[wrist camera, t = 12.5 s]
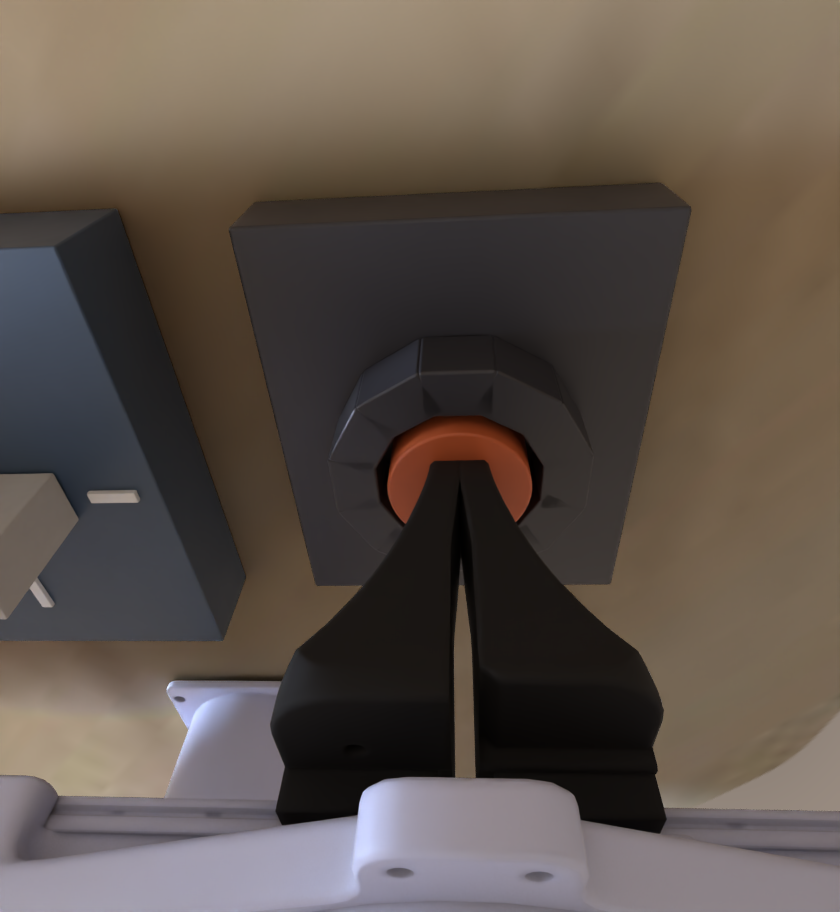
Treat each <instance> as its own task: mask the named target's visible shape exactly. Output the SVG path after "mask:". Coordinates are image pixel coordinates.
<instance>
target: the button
mask: <svg viewBox="0 0 840 912" xmlns="http://www.w3.org/2000/svg"><path fill="white" fill-rule="evenodd" d="M454 460H485V461H486V462H487V463H489V467H490V470H491V473H492V476H493V479H494V481H495V483H496V486H497V488H498V490H499V492H500V494H501V496H502V498H503V500H504V502H505V504H506V506H507V508H508V509H509V511H510V513H511V515H512V516H513V518H514V520H515V522H516V521H517V520H518V519H519V518H520V517H521V516H522V514H523V513H524V512H525V510H526V508H527V506H528V504H529V501H530V498H531V494H532V478H531V473H530V467H529V461H528V455H527V450H526V444H525V438H524V436H523V435H522V434H520V433H518V432H516V431H514V430H512V429H509V428H507V427H505V426H503V425H501V424H499V423H496V422H494V421H492V420H490V419H488V418H486V417H483V416H438V417H433V418H431V419H429V420H427V421H425V422H423V423H421V424H419V425H417V426H415V427H413V428H411V429H409V430H407V431H406V432H404V433H402V434H400V435H398V436H396V437H395V438H394V439H393V445H392V452H391V460H390V468H389V476H388V483H387V491H388V497H389V500H390V503H391V506H392V508H393V509H394V511H395V513H396V514H397V515H398V517H399V518H400V519H401V520H402V521H403V522H404V523H405V524H406V523H407V521H408V519H409V517H410V515H411V513H412V511H413V509H414V507H415V505H416V503H417V501H418V498H419V496H420V494H421V491H422V489H423V487H424V484H425V481H426V478H427V475H428V472H429V467H430V464H431V463H433V462H434V461H454Z"/></svg>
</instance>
